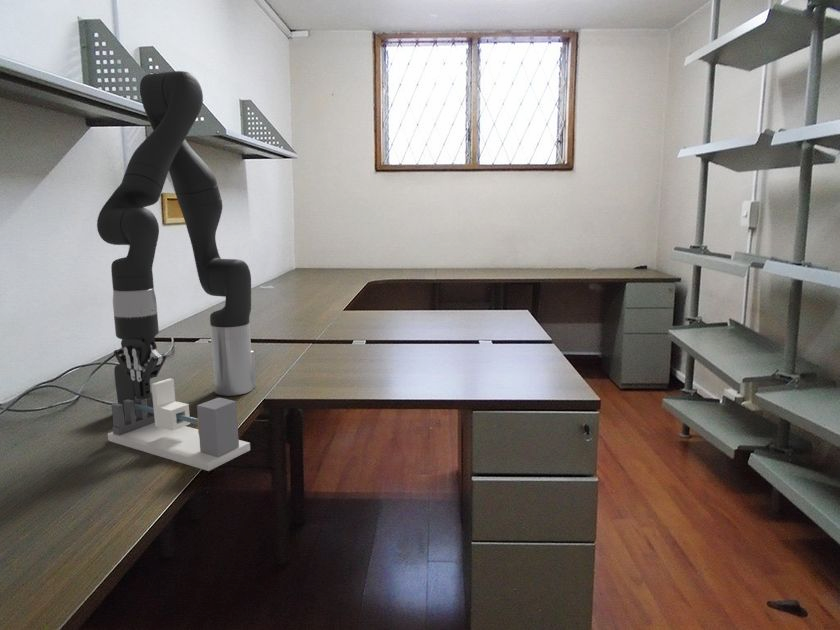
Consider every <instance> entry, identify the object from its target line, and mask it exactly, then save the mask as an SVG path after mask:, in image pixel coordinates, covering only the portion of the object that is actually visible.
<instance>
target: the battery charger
mask: <svg viewBox="0 0 840 630" xmlns="http://www.w3.org/2000/svg"><path fill="white" fill-rule="evenodd" d="M129 370H130V369H129ZM113 374H114V382H115V390H116V391H115V392H116V397H117V403H119V404H122V405H123V413H124V404H123V401H124V400H127V399H129V400H133V401H134V403H135V397H136V394H135V386H134V381H133V380H132V379H131V376H126V375H125V373H124V371H123V369H122V367H121V365H120V364H119V363H118V364H117V365H115V366H114V373H113ZM135 414H136V409H135Z"/></svg>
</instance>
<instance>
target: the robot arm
mask: <svg viewBox="0 0 840 630" xmlns="http://www.w3.org/2000/svg"><path fill="white" fill-rule="evenodd" d="M139 93H140V94H139V96H140V99H141V100H140V101H141V104H142V106H143V109H144V112H145V114H146V117H147V119H148V121H149V123H150V126H151V128H152V131H151V133H150V134H149V135H148V136H147V137H146V138H145V139H144V140H143V141H142V143H140V145H139V146H138V147H137V148H136V149H135V150H134V152H133V153H132V155H131V157H130V159H129V162H128V164H127V165H126V169H125V172H124V174H123V178H122V180H121V183H120V185H118V187H117V188H116V189H115V190H114V192H113V193H112V194H111V195H110V196H109V198H108V200H107V201H106V202H105V203H104V205H103V206H102V208H101V209H100V211H99V213H98V216H97V220H96V229H97V233H98V235H99V237H100V239H101V240H103V241H104V242H105V243H106V244H109V245H113V246H115V245H116V246H129V249H128V253H127V255H126V256H124V257H121V258H118V259H115V260H113V261H112V262H111V282H112V309H113V310H112V311H113V318H114V319H113V320H114V331H115V336H116V338H118V339H119V340H121V342H120V345H121V347H120V348H119V349H115V350H114V351H113V354H114V357H115V358H116V360H117V362H118V364H120V365H121V367H122V369H123V371H124V373H125V375H126V376H131V379H132V380H133V381H134V386H135V394H136V398H138V399H142V400H143V399H146V398H149V397H150V394H151V393H152V389H151V382H150V380H151V379H153V378H157V377H158V376H159V373H160V371H161V370H162V367H163V365H164V363H165V361H166V359H167V357H166V355H165V354H164V353H163V354H160V353H159V352H158V351H157V349H158V347H157V343H156V340H155V339H156V336H157V335H158V334H160V333H159V331H160V330H159V318H158V307H157V305H158V304H157V298H156V293H155V287H154V275H153V274H154V273H153V264H154V260H155V254H156V249H157V245H158V240H159V234H160V227H159V222H158V219H157V217H156V215H155V214H154V212H152V211H151V210H150V209H148V208H146V207H149V206H150V207H151V206H153V205H155V204H157V203H158V202H159V200H160V197H161V194H162V192H163V189H164V186H165V182H166V180H167V178H168V177H167V176H168V175H170V178H171V182H172V186H173V189H174V192H175V196H176V199H177V203H178V206H179V208H180V212H181V214H182V217H183V220H184V223H185V226H186V229H187V233H188V237H189V240H190V243H191V248H192V252H193V257H194V263H195V267H196V271H197V276H198V280H199V284H200V286H201V288H202V289H203V291H204V292H205V293H206V294H207V295H209V296H212V297H213V296H214V297H223V298H224V297H225V302H224V303H225V304H224V306H223V307H222V308H221V309H217V310H215V311H213V312H211V314H210V315H209V323H210V324H209V325H210V336H211V337H210V339H211V351H212V352H211V353H212V367H213V368H212V369H213V381H214V383H213V384H214V393H215V394H217V395H219V396H228V397H230V396H231V397H232V396H238V395H243V394H248V393H250V392H251V391H252V390H253V389H254V388H256V387H257V382H256V381H257V379H256V364H255V362H256V361H255V352H254V350H252V346H251V345H252V344H251V328H250V327H251V325H250V316H251V310H252V274H251V269H250V267H249V265H248V264H247V263H246V261H244V260H242V259H235V258H234V259H232V258H221V256H220V253H219V250H218V247H217V242H216V241H217V240H216V233H217V230H218V226H219V223H220V221H221V215H222V213H223V200H222V196H221V193H220V189H219V185H218V182H217V178H216V176H215V174H214V172H213V171H212V170H211V169H210V167H209V166H208V165H207V163H205V161H204V160H203V159H202V158H201V157H200V156H199V155H198V153H196V151H195V150H194V149H193V148H192V147H191V146H190V144H189V143H188V142H187V139H186V138H187V136H188V134H189V132H190V130H191V128H192V126H193V125H194V124H195V122H196V120H197V119H198V116H199V114H200V112H201V110H202V107H203V104H204V103H203V102H204V95H203V89H202V87H201V84H200V82H199V80H198V79H197V78H196V77H195V76H194V75H193V74H192V73H191V72H188V71H183V70H182V71H181V70H173V71H164V72H153V73H148V74H145V75H144V76H143V77H142V78H141V80H140V83H139ZM129 369H130V370H129Z"/></svg>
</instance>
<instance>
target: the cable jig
mask: <svg viewBox="0 0 840 630" xmlns="http://www.w3.org/2000/svg"><path fill="white" fill-rule="evenodd" d="M123 404H124V413H123V405H122V404H119V403H118V402H115V403H111V405H110V406H111V413H112V415H111V416H112V421H113V423H112V424H113V426H112V431H111V432H108V433H107V439H108V440H107V441H108V442H111V443H114V444H118V445H121V446H125V447H126V448H127V447H128V448H131V449H134V450H138V451H141V452H145V453H148V454H150V455H154V456H157V457H161V458H163V459H164V458H165V459H168V460H170V461H173V462H178V463H180V464H183V465H188V466H190V467H192V468H193V467H194V468H196V469H200V470H203V471H207V472H210V471H213V470H214V469H216V468H217V467H219V466H221V465H223V464H226V463H228V462H229V461H231V460H233V459H235V458H237V457H239V456H241V455H244V454H246V453H247V452H249V451H251V442H248V441H245V440H241V439H239V424H238V407H237V401H236V400H232V399H228V398H222V397H216V398H214V399H211V400H208V401H205V402H202V403H200V404H197V405H196V409H197V410H196V411H197V413H196V414H197V417H192V416H190V417H189V416H185V415H180V414H176V419H178V420H182V421H186V422H190V424H195V425H197V428H194V427H191V426H188V425H186V426H184V427H181V428H179V429H176V430H174V431H172V430H168V429H164V428H160V427H157V426H155V418H154V407H153V396H152V392H151V394H150V397H149V398H146V399H143V400H142V399H138V398H136V397H135V403H134V401H133V400H129V399H127V400H124V401H123ZM135 409H136V414H135Z"/></svg>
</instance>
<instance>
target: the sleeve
mask: <svg viewBox="0 0 840 630" xmlns="http://www.w3.org/2000/svg"><path fill="white" fill-rule="evenodd" d="M174 381H175V380H174V378H166V379H162V380H160V381H155V382H152V383H150V386H151V393H152V396H153V407H154V418H155V426H157V427H160V428H164V429H168V430H172V431H174V430H176V429H179V428H181V427H184V426H188V425H190V424H191V423H190V422H186V421H182V420H178V419H176V414H180V415H185V416H189V417H191V416H190V404H189V403H185V402H180V401H176V394H175V393H176V392H175V382H174Z"/></svg>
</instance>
